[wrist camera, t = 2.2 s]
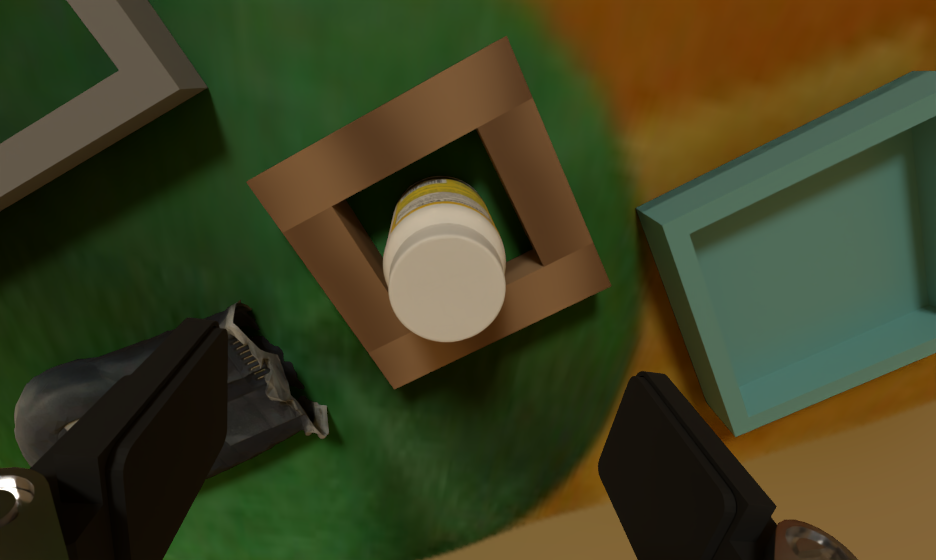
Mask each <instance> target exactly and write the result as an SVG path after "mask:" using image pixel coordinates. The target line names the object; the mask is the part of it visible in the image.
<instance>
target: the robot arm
mask: <svg viewBox="0 0 936 560" xmlns="http://www.w3.org/2000/svg"><path fill="white" fill-rule="evenodd" d="M227 403H228V332H227V330H226V329H224V328H220V326H219V323H218V322H217V321H213V320H205V319H197V318H186V319H185V320H184V321H183V322H182V323H181V324H180V325H179V326H178V327H177V328H176V329H175V330H174V331H173V332H172V333H171V334H170V335H169V336H168V337H167V338H166V339H165V340H164V341H163V342H162V343H161V344H160V345H159V346H158V347H157V348H156V350H155V351H154V352H153V353H152V354H151V355H150V356H149V357H148V358H147V359H146V360H145V361H144V362H143V363H142V364H141V365H140V366H139V367H138V368H137V369H136V370H135V371H134V372H133V373H132V374H131V375H126V376H123V377H122V378H121V379H119V380H118V381H117V382H116V383H115V384H114V385H113V386H112V387H111V388H110V389H109V390H108V391H107V392H106V393H105V394H104V395H103V396H102V397H101V398H100V399H99V400H98V401H97V402H96V403H95V404H94V405H93V406H92V407H91V408H90V409H89V410H88V411H87V412H86V413H85V414H84V415H83V416H82V417H81V418H80V419H79V420H78V421H77V422H76V423H75V424H74V425H73V426H72V427H71V428H70V429H69V430H68V431H67V432H66V433H65V434H64V435H63V436H62V437H61V438H60V439H59V440H58V441H57V442H56V443H55V444H54V445H53V446H52V447H51V448H50V449H49V450H48V451H47V452H46V453H45V454H44V455H43V456H42V457H41V458H40V459H39V460H38V461H37V462H36V463H35V464H34V465H33V466H32V467H31V468H30V469H25V468H18V467H12V468H0V560H163V558H164V556H165V554H166V552H167V550H168V548H169V546H170V545H171V543H172V541H173V539H174V537H175V535H176V533H177V531H178V530H179V528H180V526H181V524H182V522H183V520H184V518H185V517H186V515H187V513H188V511H189V509H190V507H191V505H192V503H193V502H194V500H195V498H196V496H197V494H198V492H199V490H200V488H201V487H202V485H203V483H204V481H205V479H206V477H207V475H208V474H209V472H210V470H211V468H212V466H213V464H214V462H215V460H216V459H217V457H218V455H219V453H220V451H221V449H222V447H223V445H224V442H225V439H226V435H227ZM598 471H599V476H600V478H601V480H602V483H603V485H604V487H605V489H606V491H607V493H608V496H609V498H610V500H611V502H612V504H613V507H614V509H615V511H616V513H617V515H618V517H619V519H620V522H621V524H622V526H623V528H624V531H625V532H626V535H627V537H628V539H629V542H630V544H631V546H632V548H633V550H634V552H635V555H636V557H637V559H638V560H858V559H857V558H856V557H855V556H854V555H853V554H852V553H851V552H850V551H849V550H848V549H847V548H846V547H845V546H844V545H843V544H841V543H840V542H839V541H838V540H836V539H835V538H834V537H833V536H831V535H829V534H828V533H826V532H824V531H822V530H821V529H819V528H817V527H815V526H813V525H810V524H808V523H805V522H802V521H798V520H784V521H782V522H780V523H778V525H777V524H776V523H775V522H774V520H773V519H772V518H771V515H772V514H773V512H774V510H775V508H776V505H775V504H774V503H773V502H772V500H771V499H770V498H769V497H768V496H767V495H766V493H765V492H764V491H763V490H762V489H761V487H760V486H759V485H758V484H757V483H756V481H755V480H754V479H753V478H752V476H751V475H750V474H749V473H748V472H747V471H746V469H745V468H744V467H743V466H742V465H741V463H740V462H739V461H738V460H737V459H736V457H735V456H734V455H733V454H732V453H731V451H730V450H729V449H728V448H727V447H726V446H725V444H724V443H723V442H722V441H721V440H720V438H719V437H718V436H717V435H716V434H715V432H714V431H713V430H712V429H711V428H710V427H709V425H708V424H707V423H706V422H705V421H704V419H703V418H702V417H701V416H700V415H699V413H698V412H697V411H696V410H695V409H694V407H693V406H692V405H691V404H690V403H689V402H688V400H687V399H686V398H685V397H684V396H683V394H682V393H681V392H680V391H679V390H678V388H677V387H676V386H675V385H674V384H673V383H672V381H671V380H670V379H669V378H668V377H667V376H666V375H665V374H661V373H653V372H644V371H641V372H639V373H638V374H637V375H636V376H633V377H631V378H630V380H629V382H628V385H627V387H626V390H625V393H624V395H623V398H622V401H621V403H620V406H619V409H618V411H617V414H616V416H615V419H614V422H613V424H612V427H611V430H610V432H609V435H608V438H607V440H606V443H605V446H604V448H603V451H602V454H601V456H600V459H599V463H598Z"/></svg>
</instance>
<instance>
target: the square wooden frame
mask: <svg viewBox="0 0 936 560" xmlns="http://www.w3.org/2000/svg"><path fill="white" fill-rule="evenodd" d="M474 129H476V131H477V133H478V135H479V137H480V139H481V141H482V143H483V145H484V147H485V149H486V152H487V154H488V156H489V158H490V160H491V162H492V164H493V166H494V168H495V170H496V172H497V174H498V177H499V179H500V181H501V183H502V185H503V187H504V189H505V191H506V193H507V195H508V197H509V199H510V202H511V204H512V206H513V208H514V210H515V212H516V214H517V216H518V218H519V220H520V222H521V224H522V227H523V229H524V231H525V233H526V235H527V237H528V239H529V241H530V243H531V245H532V247H533V249H532V250H530V251H528V252H526V253H524V254H522V255H520V256H518V257H516V258H514V259H512V260H510V261H508V262H506V269H505V274H504V275H505V282H506V292H505V298H504V303H503V305H502V308H501V310H500V312H499V313H498V315H497V317H496V318H495V319H494V321H493V322H492V323H491V324H490V325H489V326H488V327H487V328H485V329H484V330H483V331H481V332H480V333H478V334H477V335H475V336H472V337H470V338H467V339H464V340H461V341H455V342H438V341H432V340H428V339H425V338H423V337H421V336H418V335H417V334H415V333H413V332H412V331H410V330H409V329H407V328H406V327H405V326H404V325H403V324H402V323H401V322H400V320H399V319H398V318H397V316H396V314H395V313H394V311H393V309H392V306H391V303H390V299H389V293H388V286H387V283H386V281H385V277H384V272H383V258H382V256H381V254H380V253H379V251H378V250H377V248H376V247H375V245H374V243H373V242H372V240H371V239H370V237H369V235H368V234H367V232H366V231H365V229H364V228H363V226H362V224H361V223H360V221H359V220H358V218H357V217H356V215H355V213H354V212H353V210H352V209H351V207H350V205H349V204H348V202H347V201H346V198H348V197H350V196H352V195H354V194H355V193H357V192H359V191H361V190H363V189H365V188H367V187H368V186H370V185H372V184H374V183H376V182H378V181H380V180H381V179H383V178H385V177H387V176H389V175H391V174H393V173H394V172H396V171H398V170H400V169H402V168H404V167H406V166H407V165H409V164H411V163H413V162H415V161H417V160H419V159H420V158H422V157H424V156H426V155H428V154H430V153H432V152H433V151H435V150H437V149H439V148H441V147H443V146H445V145H446V144H448V143H450V142H452V141H454V140H456V139H458V138H459V137H461V136H463V135H465V134H467V133H469V132H471V131H472V130H474ZM247 184H248V185H249V187H250V188H251V189H252V191H253V192H254V194H255V195H256V196H257V198H258V199H259V201H260V202H261V203H262V205H263V206H264V208H265V209H266V210H267V212H268V213H269V215H270V216H271V217H272V219H273V220H274V222H275V223H276V224H277V226H278V227H279V229H280V230H281V231H282V233H283V234H284V236H285V237H286V238H287V240H288V241H289V243H290V244H291V245H292V247H293V248H294V250H295V251H296V252H297V254H298V255H299V257H300V258H301V259H302V261H303V262H304V264H305V265H306V266H307V268H308V269H309V271H310V272H311V273H312V275H313V276H314V278H315V279H316V280H317V282H318V283H319V285H320V286H321V287H322V289H323V290H324V292H325V293H326V294H327V296H328V297H329V299H330V300H331V301H332V303H333V304H334V306H335V307H336V308H337V310H338V311H339V313H340V314H341V315H342V317H343V318H344V320H345V321H346V322H347V324H348V325H349V327H350V328H351V329H352V331H353V332H354V334H355V335H356V336H357V338H358V339H359V341H360V342H361V343H362V345H363V346H364V348H365V349H366V350H367V352H368V353H369V355H370V356H371V357H372V359H373V360H374V362H375V363H376V364H377V366H378V367H379V369H380V370H381V371H382V373H383V374H384V376H385V377H386V378H387V380H388V381H389V383H390V384H391V385H392V387H393V388H394V389H396V388H398V387H401V386H403V385H405V384H407V383H409V382H411V381H413V380H415V379H417V378H419V377H422V376H424V375H426V374H428V373H430V372H432V371H434V370H436V369H438V368H440V367H442V366H445V365H447V364H449V363H451V362H453V361H455V360H457V359H459V358H461V357H463V356H466V355H468V354H470V353H472V352H474V351H476V350H478V349H480V348H482V347H484V346H487V345H489V344H491V343H493V342H495V341H497V340H499V339H501V338H503V337H505V336H508V335H510V334H512V333H514V332H516V331H518V330H520V329H522V328H524V327H526V326H529V325H531V324H533V323H535V322H537V321H539V320H541V319H543V318H545V317H547V316H550V315H552V314H554V313H556V312H558V311H560V310H562V309H564V308H566V307H568V306H571V305H573V304H575V303H577V302H579V301H581V300H583V299H585V298H587V297H589V296H592V295H594V294H596V293H598V292H600V291H602V290H604V289H606V288H608V287H610V286H611V284H610V282H609V279H608V277H607V274H606V272H605V270H604V267H603V265H602V262H601V260H600V258H599V255H598V253H597V251H596V248H595V246H594V243H593V241H592V239H591V236H590V234H589V231H588V229H587V227H586V224H585V222H584V220H583V217H582V215H581V212H580V210H579V208H578V205H577V203H576V200H575V198H574V196H573V193H572V191H571V189H570V186H569V184H568V181H567V179H566V177H565V174H564V172H563V169H562V167H561V165H560V162H559V160H558V157H557V155H556V153H555V150H554V148H553V146H552V143H551V141H550V138H549V136H548V134H547V131H546V129H545V126H544V124H543V122H542V119H541V117H540V115H539V112H538V110H537V107H536V105H535V103H534V100H533V98H532V95H531V93H530V91H529V88H528V86H527V84H526V81H525V79H524V76H523V74H522V72H521V69H520V67H519V64H518V62H517V60H516V57H515V55H514V53H513V50H512V48H511V45H510V43H509V41H508V38H507V36H506V37H504V38H502V39H500V40H498V41H496V42H494V43H492V44H491V45H489V46H487V47H485V48H483V49H482V50H480V51H478V52H476V53H475V54H473V55H471V56H469V57H467V58H466V59H464V60H462V61H460V62H458V63H457V64H455V65H453V66H451V67H450V68H448V69H446V70H444V71H442V72H441V73H439V74H437V75H435V76H434V77H432V78H430V79H428V80H426V81H425V82H423V83H421V84H419V85H417V86H416V87H414V88H412V89H410V90H409V91H407V92H405V93H403V94H401V95H400V96H398V97H396V98H394V99H392V100H391V101H389V102H387V103H385V104H384V105H382V106H380V107H378V108H376V109H375V110H373V111H371V112H369V113H367V114H366V115H364V116H362V117H360V118H359V119H357V120H355V121H353V122H351V123H350V124H348V125H346V126H344V127H343V128H341V129H339V130H337V131H335V132H334V133H332V134H330V135H328V136H326V137H325V138H323V139H321V140H319V141H318V142H316V143H314V144H312V145H310V146H309V147H307V148H305V149H303V150H301V151H300V152H298V153H296V154H294V155H293V156H291V157H289V158H287V159H285V160H284V161H282V162H280V163H278V164H276V165H275V166H273V167H271V168H269V169H268V170H266V171H264V172H262V173H261V174H259V175H257V176H255V177H254V178H252V179H250V180H249V181H247Z"/></svg>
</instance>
